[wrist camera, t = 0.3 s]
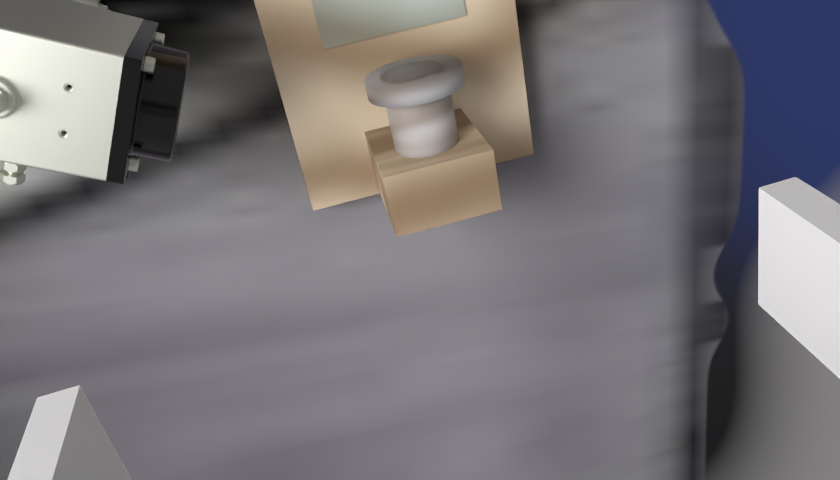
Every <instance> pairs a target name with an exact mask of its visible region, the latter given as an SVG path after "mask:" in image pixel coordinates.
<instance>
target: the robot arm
mask: <svg viewBox="0 0 840 480" xmlns="http://www.w3.org/2000/svg"><path fill="white" fill-rule="evenodd" d="M758 256H759V257H758V259H759V260H758V304H759V305H760V306H761V307H762V308H763V309H764V310H765V311H767V312H768V314H770V315H771V316H772V317H773V318H774V319H775V320H776V321H777V322H778V323H780V324H781V325H782V326H783V327H784V328H785V329H786V330H787V331H788V332H789V333H790V334H791V335H792V336H794V337H795V338H796V339H797V340H798V341H799V342H800V343H801V344H802V345H804V347H806V348H807V349H808V350H809V351H810V352H811V353H812V354H813V355H814V356H816V357H817V358H818V359H819V360H820V361H821V362H822V363H823V364H824V365H825V366H826V367H827V368H829V369H830V370H831V371H832V372H833V373H834V374H835V375H836V376H837V377H838V378H840V204H838V203H837V202H835V201H834V200H832V199H830V198H829V197H827V196H826V195H824V194H822V193H821V192H819V191H818V190H816V189H814V188H813V187H811V186H810V185H808V184H806V183H805V182H803V181H801V180H800V179H798V178H797V177H794V178H791V179H787V180H784V181H780V182H777V183H773V184H770V185H767V186H763V187H760V188H759V255H758ZM8 480H132V479H131V477H130V475H129V474H128V472H127V470H126V468H125V466H124V465H123V463H122V461H121V459H120V457H119V455H118V454H117V452H116V450H115V448H114V446H113V445H112V443H111V441H110V439H109V437H108V435H107V434H106V432H105V430H104V428H103V426H102V425H101V423H100V421H99V419H98V417H97V415H96V414H95V412H94V410H93V408H92V406H91V405H90V403H89V401H88V399H87V397H86V395H85V394H84V392H83V390H82V388H81V386H80V385H79V386H75V387H72V388H69V389H65V390H62V391H58V392H55V393H51V394H48V395H44V396H41V397H38V398H37V400H36V403H35V405H34V408H33V411H32V414H31V416H30V419H29V422H28V425H27V427H26V430H25V433H24V436H23V438H22V441H21V444H20V447H19V450H18V452H17V455H16V458H15V461H14V463H13V466H12V469H11V472H10V474H9V477H8Z"/></svg>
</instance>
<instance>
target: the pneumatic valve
mask: <svg viewBox="0 0 840 480" xmlns="http://www.w3.org/2000/svg"><path fill="white" fill-rule="evenodd" d="M158 27H159V23H158V22H154V21H150V20H146V19H142V18H138V17H133V16H129V15H125V14H121V13H117V12H113V11H111V10H109V9H108V6H106V5H102V4H101V3H100V0H0V162H1V167H2V169H3V170H0V180H1V181H2V182H3V183H5V184H9V185H20V184H22V183H23V182H24V181H25V176H26V175H25V174H24V172H23V171H24V170H25V169H26V166H27V167H33V168H38V169H44V170H49V171H54V172H60V173H65V174H71V175H76V176H82V177H87V178H92V179H98V180H103V181H109V182H114V183H119V184H124V181H125V178H127V179H128V177H129V174H130V171H135V172H137V171H138V167H139V161H140V158H139V157H136V155H137V156H142V157H148V158H153V159H158V160H163V161H168V162H169V161H171V159H172V155H173V150H174V145H175V140H176V135H177V130H178V124H179V119H180V114H181V108H182V103H183V97H184V92H185V86H186V80H187V75H188V69H189V63H190V56H191V53H190V52H189V51H186V50H181V49H177V48H173V47H169V46H165V45H164V39H165V34H163V33H159V32H158Z"/></svg>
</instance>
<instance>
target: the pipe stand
mask: <svg viewBox="0 0 840 480" xmlns="http://www.w3.org/2000/svg"><path fill="white" fill-rule="evenodd" d="M254 2H255V6H256V9H257V13H258V16H259V20H260V24H261V27H262V31H263V34H264V38H265V41H266V45H267V48H268V52H269V55H270V59H271V62H272V66H273V69H274V73H275V77H276V80H277V84H278V87H279V91H280V94H281V98H282V101H283V105H284V108H285V112H286V115H287V119H288V122H289V126H290V130H291V133H292V137H293V140H294V144H295V147H296V151H297V154H298V158H299V161H300V165H301V168H302V172H303V175H304V179H305V183H306V186H307V190H308V193H309V197H310V200H311V204H312V207H313V211H314V210H318V209H322V208H326V207H329V206H333V205H337V204H341V203H345V202H349V201H353V200H357V199H361V198H365V197H368V196H372V195H376V194H380V195H381V197H382V200H383V203H384V205H385V208H386V210H387V213H388V216H389V218H390V221H391V224H392V226H393V229H394V231H395V234H396V237H399V236H403V235H407V234H411V233H415V232H418V231H422V230H426V229H430V228H434V227H437V226H441V225H445V224H449V223H453V222H457V221H460V220H464V219H468V218H472V217H476V216H479V215H483V214H487V213H491V212H495V211H499V210H502V204H501V198H500V191H499V184H498V178H497V171H496V164H497V163H501V162H505V161H509V160H513V159H517V158H520V157H524V156H528V155H532V154H534V152H533V143H532V135H531V127H530V119H529V111H528V102H527V94H526V86H525V78H524V70H523V61H522V53H521V45H520V37H519V29H518V21H517V12H516V4H515V0H254Z"/></svg>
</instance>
